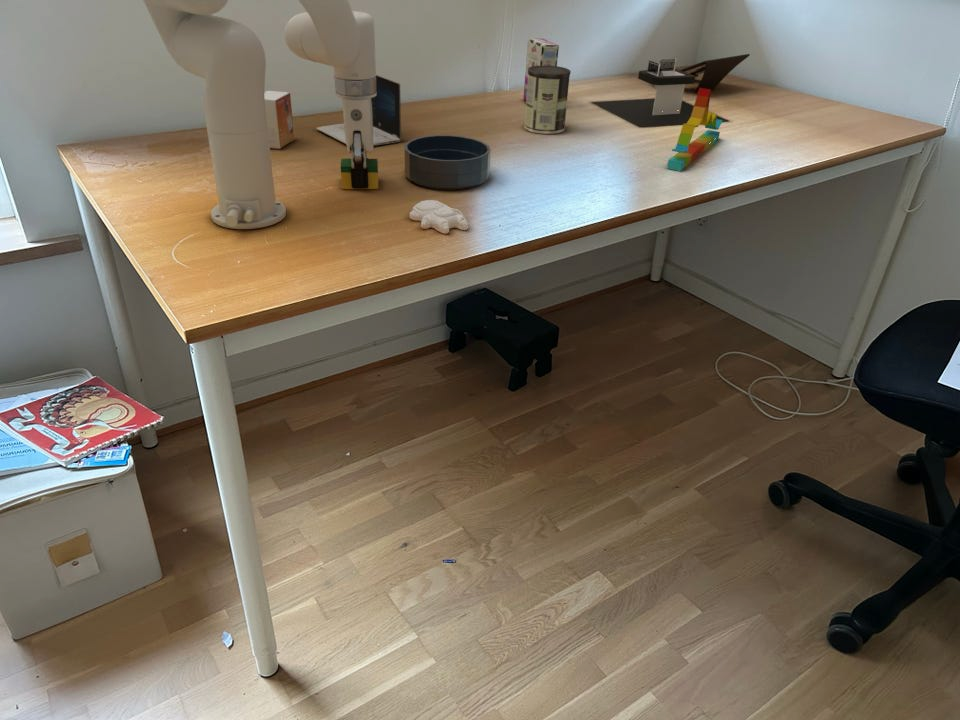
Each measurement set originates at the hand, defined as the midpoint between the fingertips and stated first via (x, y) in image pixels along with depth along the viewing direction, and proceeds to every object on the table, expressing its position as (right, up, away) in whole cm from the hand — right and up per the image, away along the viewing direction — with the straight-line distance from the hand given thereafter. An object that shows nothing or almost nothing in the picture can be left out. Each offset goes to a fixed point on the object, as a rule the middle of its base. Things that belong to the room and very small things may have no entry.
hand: (360, 181), depth 144 cm
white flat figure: (+16, -11, -14) cm, 24 cm away
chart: (+74, +13, +28) cm, 80 cm away
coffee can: (+40, +23, +40) cm, 61 cm away
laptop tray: (+90, +51, +87) cm, 135 cm away
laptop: (-5, +17, +28) cm, 33 cm away
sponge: (0, -1, 0) cm, 1 cm away
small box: (-22, +13, +20) cm, 33 cm away
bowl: (+17, +3, +7) cm, 18 cm away
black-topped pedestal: (+73, +34, +60) cm, 100 cm away
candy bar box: (+40, +36, +60) cm, 81 cm away
